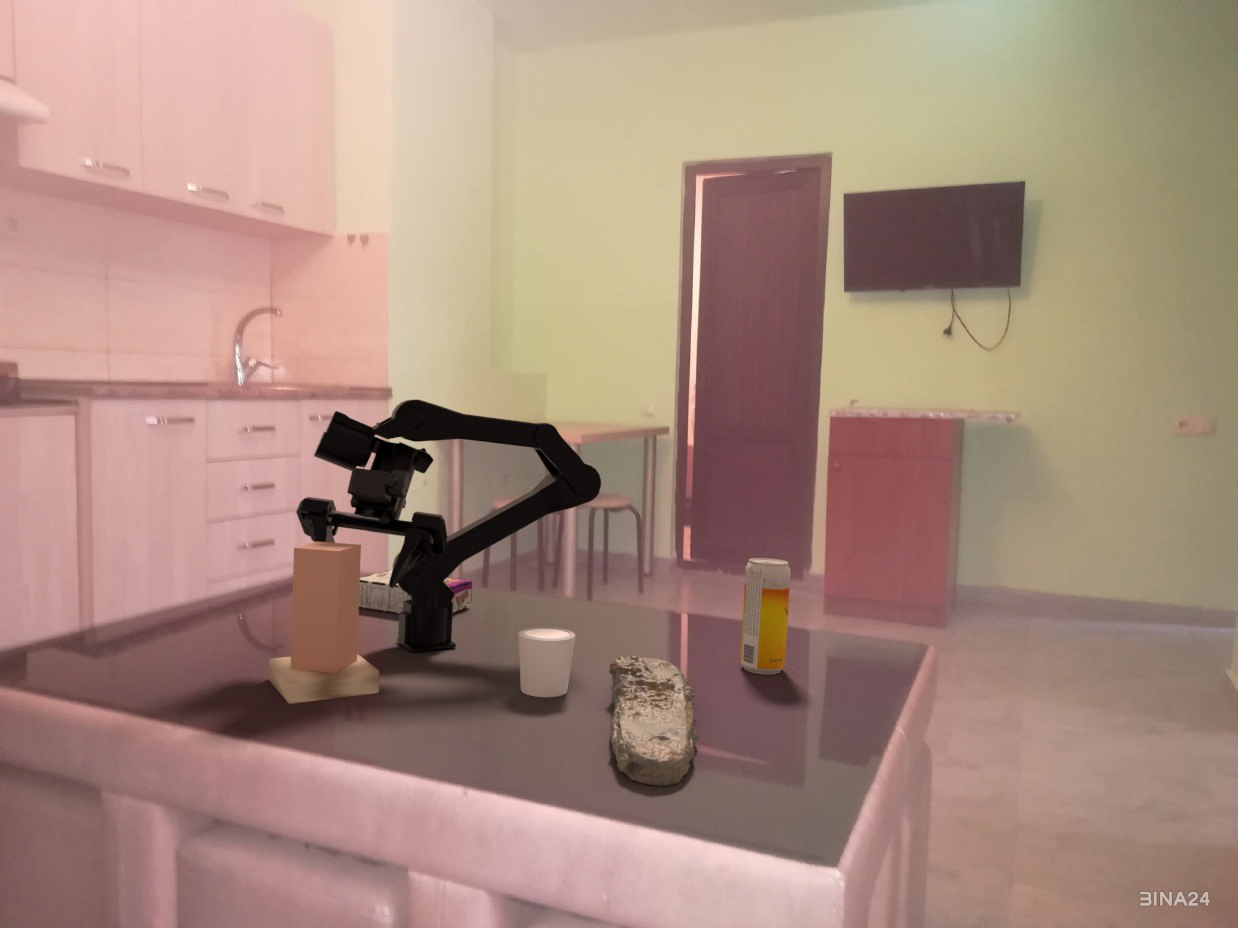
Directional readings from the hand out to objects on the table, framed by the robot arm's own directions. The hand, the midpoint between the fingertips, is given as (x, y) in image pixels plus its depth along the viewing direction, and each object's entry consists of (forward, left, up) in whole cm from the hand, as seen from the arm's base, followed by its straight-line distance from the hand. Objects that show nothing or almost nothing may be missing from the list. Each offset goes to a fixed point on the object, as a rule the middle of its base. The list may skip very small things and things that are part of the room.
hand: (354, 581), depth 111 cm
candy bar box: (-25, -25, -9) cm, 36 cm away
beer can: (-50, +21, -11) cm, 56 cm away
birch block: (+5, +5, -12) cm, 14 cm away
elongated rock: (-23, +32, -12) cm, 41 cm away
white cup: (-18, +17, -11) cm, 27 cm away
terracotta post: (+5, +5, -9) cm, 11 cm away
